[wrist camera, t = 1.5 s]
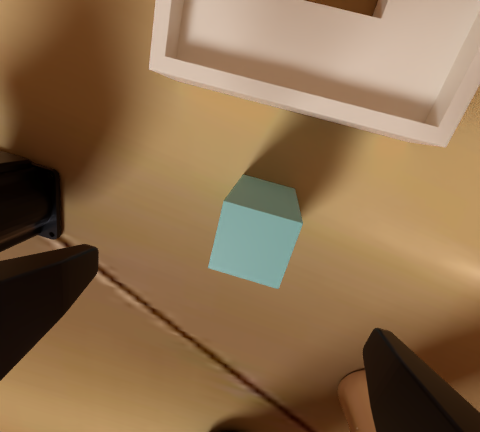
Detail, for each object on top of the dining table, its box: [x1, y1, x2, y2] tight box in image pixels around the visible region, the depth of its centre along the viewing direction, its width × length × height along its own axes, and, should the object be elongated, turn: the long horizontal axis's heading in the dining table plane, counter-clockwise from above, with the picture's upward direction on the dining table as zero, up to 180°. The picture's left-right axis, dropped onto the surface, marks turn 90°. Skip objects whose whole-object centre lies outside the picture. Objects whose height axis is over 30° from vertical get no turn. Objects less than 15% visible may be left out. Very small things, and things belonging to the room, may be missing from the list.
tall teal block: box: [208, 174, 303, 289], centre depth 16 cm, size 4×4×7 cm
